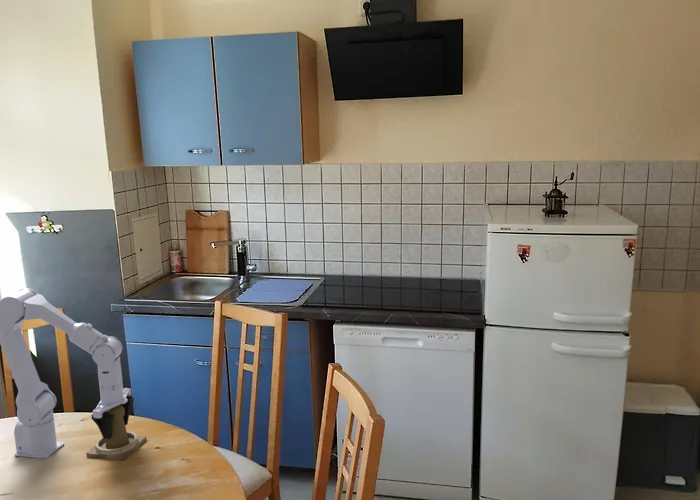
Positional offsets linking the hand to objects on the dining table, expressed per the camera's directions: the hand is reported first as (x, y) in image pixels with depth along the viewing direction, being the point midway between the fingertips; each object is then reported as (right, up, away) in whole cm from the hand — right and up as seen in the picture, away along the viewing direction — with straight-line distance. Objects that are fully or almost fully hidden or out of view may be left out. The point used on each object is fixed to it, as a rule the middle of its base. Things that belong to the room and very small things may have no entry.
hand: (115, 431), depth 160 cm
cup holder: (0, -5, +1) cm, 5 cm away
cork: (0, -4, +1) cm, 4 cm away
